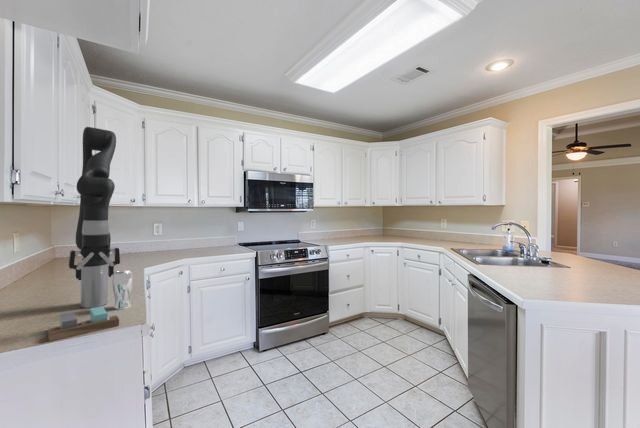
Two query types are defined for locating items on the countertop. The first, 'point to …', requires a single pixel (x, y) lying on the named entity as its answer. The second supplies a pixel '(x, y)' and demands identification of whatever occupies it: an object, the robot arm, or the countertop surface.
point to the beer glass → (122, 288)
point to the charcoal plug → (68, 320)
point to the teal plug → (97, 314)
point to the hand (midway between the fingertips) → (95, 278)
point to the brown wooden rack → (82, 328)
